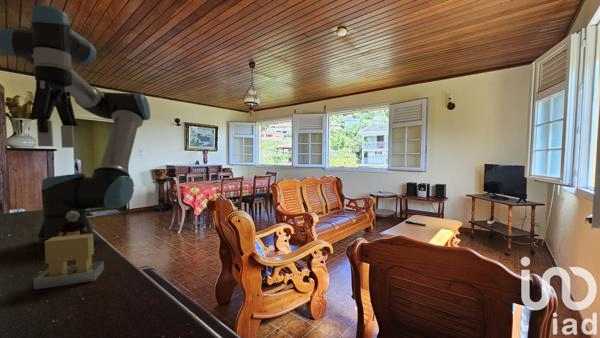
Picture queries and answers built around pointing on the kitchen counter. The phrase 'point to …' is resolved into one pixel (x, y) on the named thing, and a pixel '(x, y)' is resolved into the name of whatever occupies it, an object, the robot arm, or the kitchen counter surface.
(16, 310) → the kitchen counter surface
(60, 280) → the grey flat frame
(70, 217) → the grandmother figurine
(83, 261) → the yellow notched block
